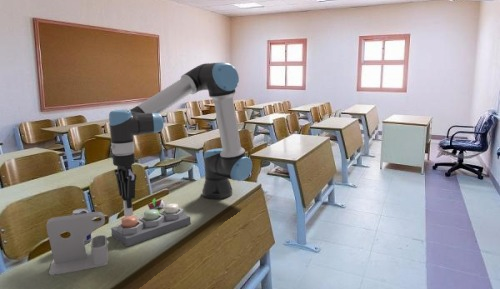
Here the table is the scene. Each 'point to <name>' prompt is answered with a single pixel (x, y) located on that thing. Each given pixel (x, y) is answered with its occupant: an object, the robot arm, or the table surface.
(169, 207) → the cream button
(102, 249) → the phone holder
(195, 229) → the table surface
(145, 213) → the sage button
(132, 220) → the terracotta button
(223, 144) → the robot arm
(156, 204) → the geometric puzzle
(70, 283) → the table surface
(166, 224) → the button board
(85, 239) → the energy drink
